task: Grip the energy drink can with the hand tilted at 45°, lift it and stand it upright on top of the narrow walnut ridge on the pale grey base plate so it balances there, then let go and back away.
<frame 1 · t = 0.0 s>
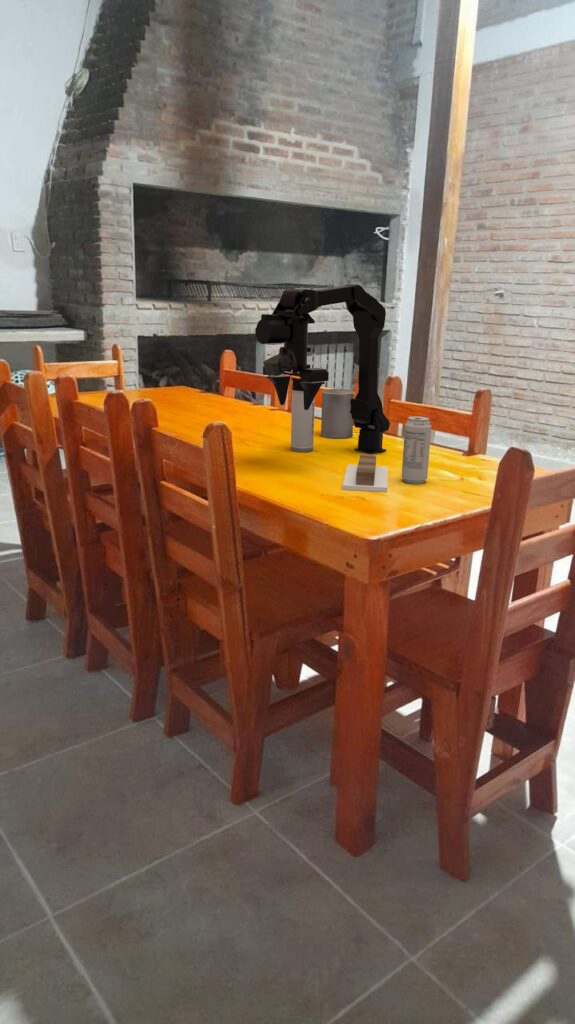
hand: (294, 407, 179), 15 cm above the table, tool pointing down, fingers open, 9 cm apart
pillar candle: (336, 436, 220), on the table
energy drink can: (413, 482, 170), on the table
ridge base plate: (366, 479, 170), on the table
travel mug: (301, 450, 200), on the table
walnut ridge: (366, 469, 170), on the ridge base plate, point 2 cm above the table
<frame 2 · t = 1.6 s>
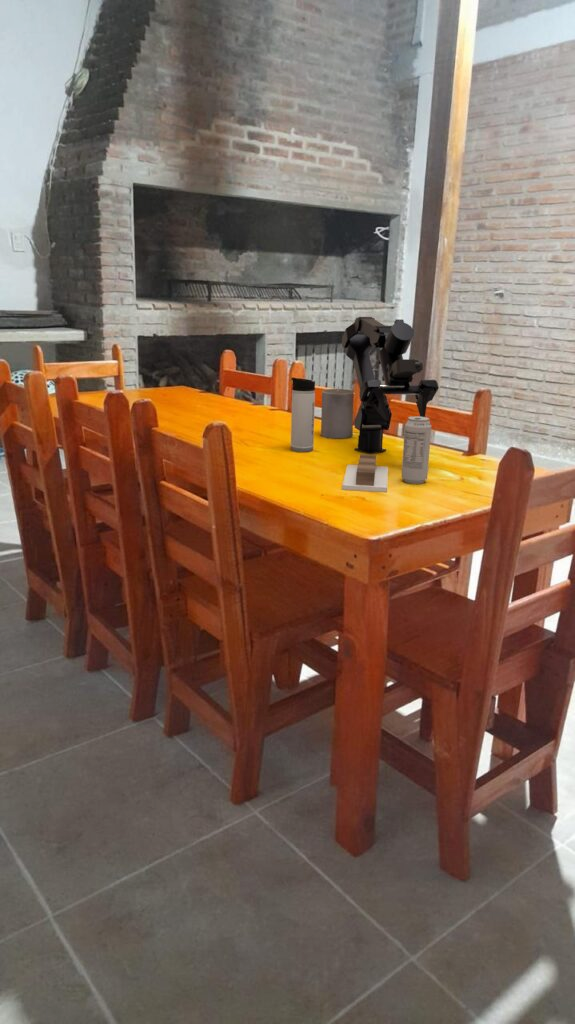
hand: (405, 419, 173), 13 cm above the table, tool tilted 45°, fingers open, 9 cm apart
nothing on the table moved.
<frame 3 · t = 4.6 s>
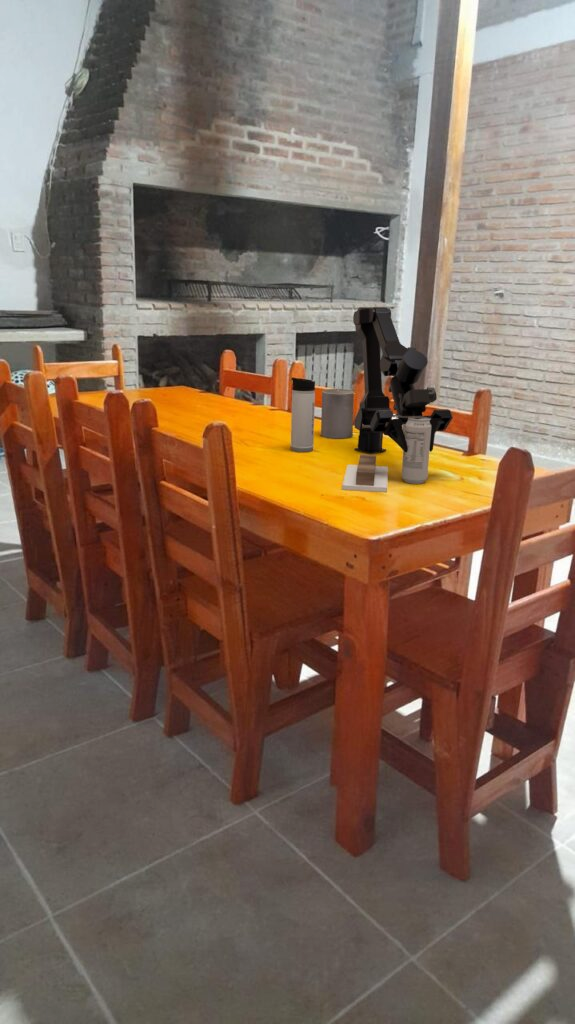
hand: (419, 451, 166), 8 cm above the table, tool tilted 45°, fingers closed on energy drink can, 6 cm apart
energy drink can: (414, 481, 170), on the table, touching gripper
everything else where it was.
when the fingers open (13 cm above the table, at t = 8.3 s): energy drink can drops 2 cm, resting on walnut ridge.
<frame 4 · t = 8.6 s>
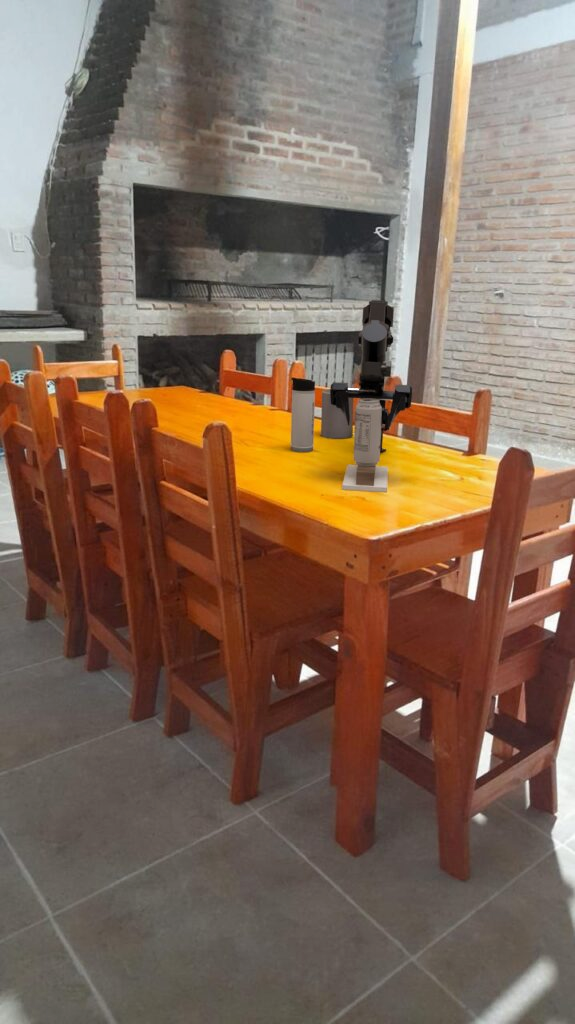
hand: (368, 425, 164), 14 cm above the table, tool tilted 45°, fingers open, 9 cm apart
energy drink can: (366, 464, 168), point 4 cm above the table, touching walnut ridge
everything else where it was.
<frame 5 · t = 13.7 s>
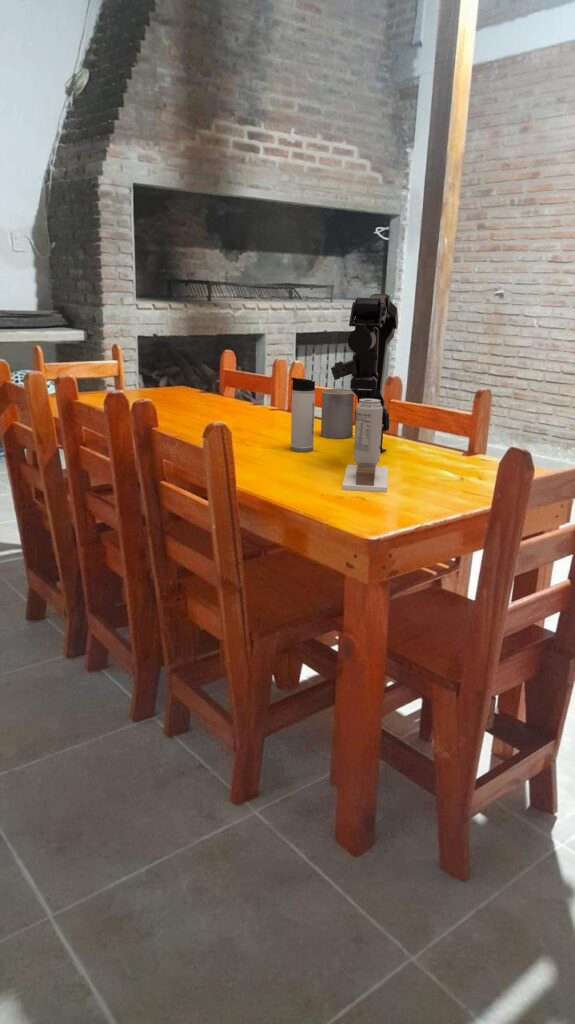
hand: (363, 413, 182), 13 cm above the table, tool pointing down, fingers open, 9 cm apart
nothing on the table moved.
at the end: energy drink can inside the target area on the walnut ridge (0.2 cm from its centre), point 3.8 cm above the walnut ridge's base; energy drink can tilted 0°; the gripper is holding nothing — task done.
